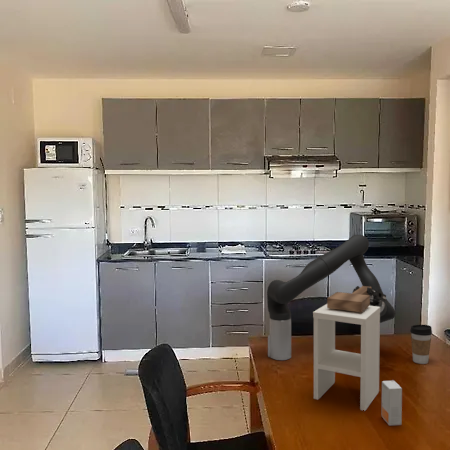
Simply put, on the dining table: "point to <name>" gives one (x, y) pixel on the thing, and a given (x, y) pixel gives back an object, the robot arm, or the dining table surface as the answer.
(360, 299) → the walnut mallet
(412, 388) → the dining table surface
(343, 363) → the shelf stand
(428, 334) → the coffee cup
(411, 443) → the dining table surface
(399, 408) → the skincare box
